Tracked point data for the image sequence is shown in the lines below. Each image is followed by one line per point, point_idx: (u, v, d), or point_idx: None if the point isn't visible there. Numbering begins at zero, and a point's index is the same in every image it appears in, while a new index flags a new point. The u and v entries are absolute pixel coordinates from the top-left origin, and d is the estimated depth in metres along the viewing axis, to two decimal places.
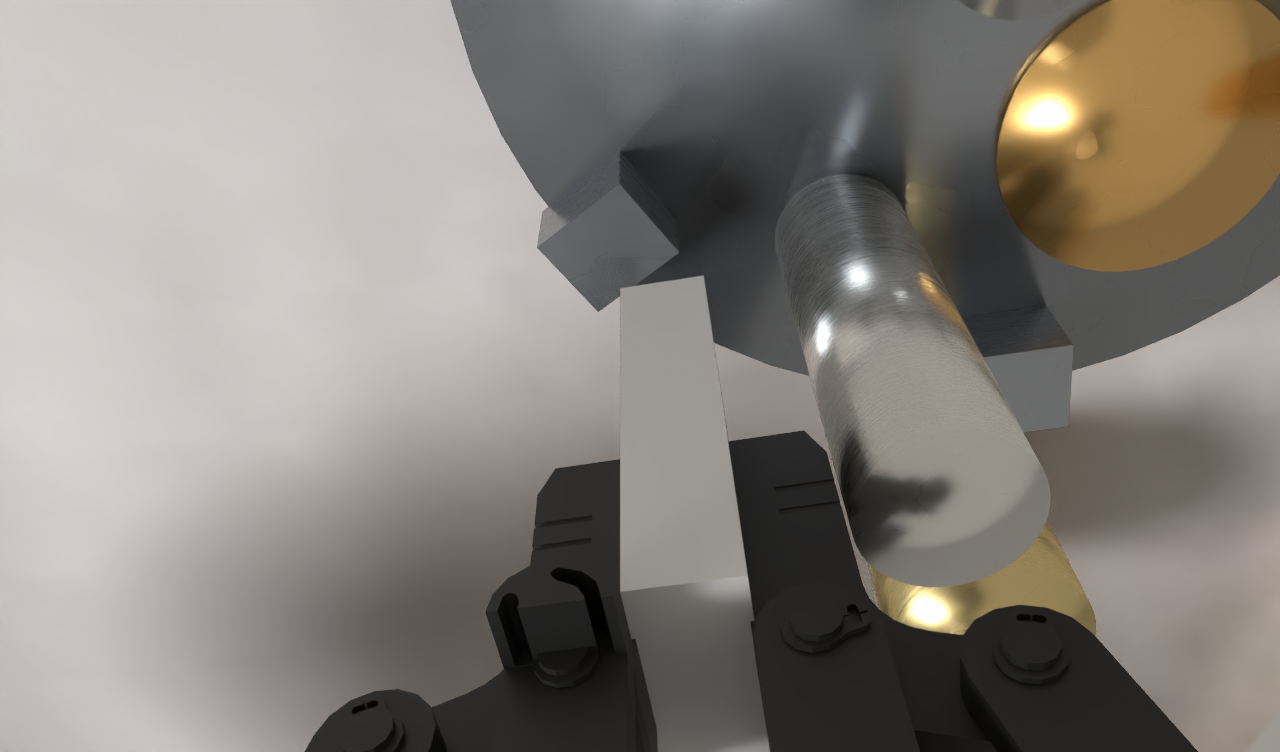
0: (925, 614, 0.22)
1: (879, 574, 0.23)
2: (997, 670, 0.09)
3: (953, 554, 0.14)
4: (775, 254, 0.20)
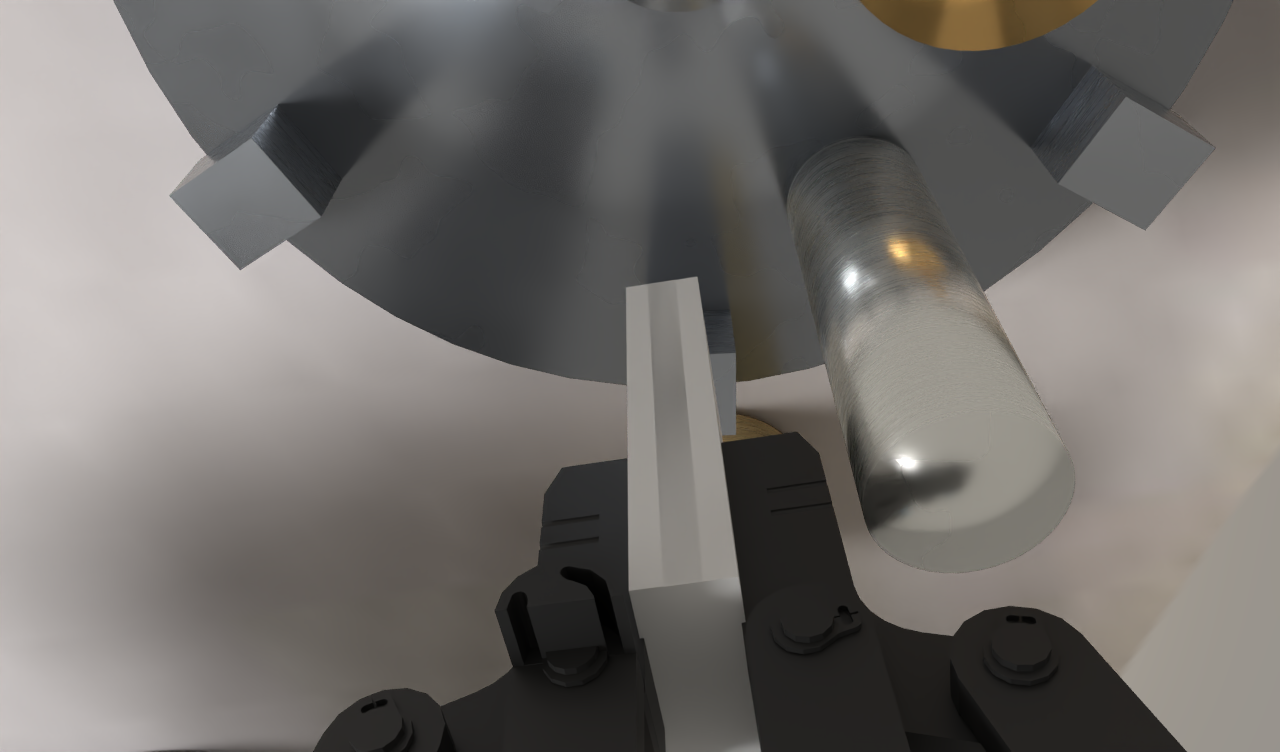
0: None
1: None
2: (987, 672, 0.09)
3: (1016, 515, 0.13)
4: None
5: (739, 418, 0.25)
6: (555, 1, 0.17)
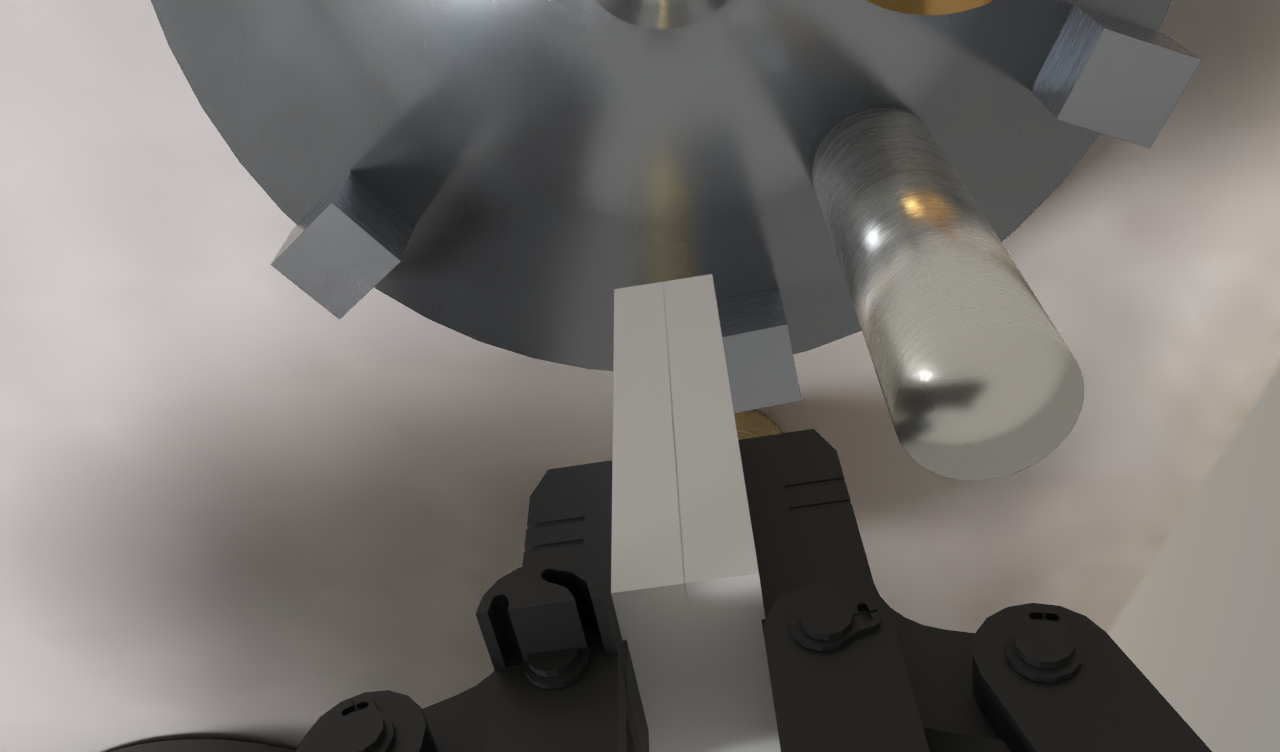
0: None
1: None
2: (1010, 668, 0.09)
3: (1036, 417, 0.14)
4: None
5: None
6: (573, 37, 0.19)
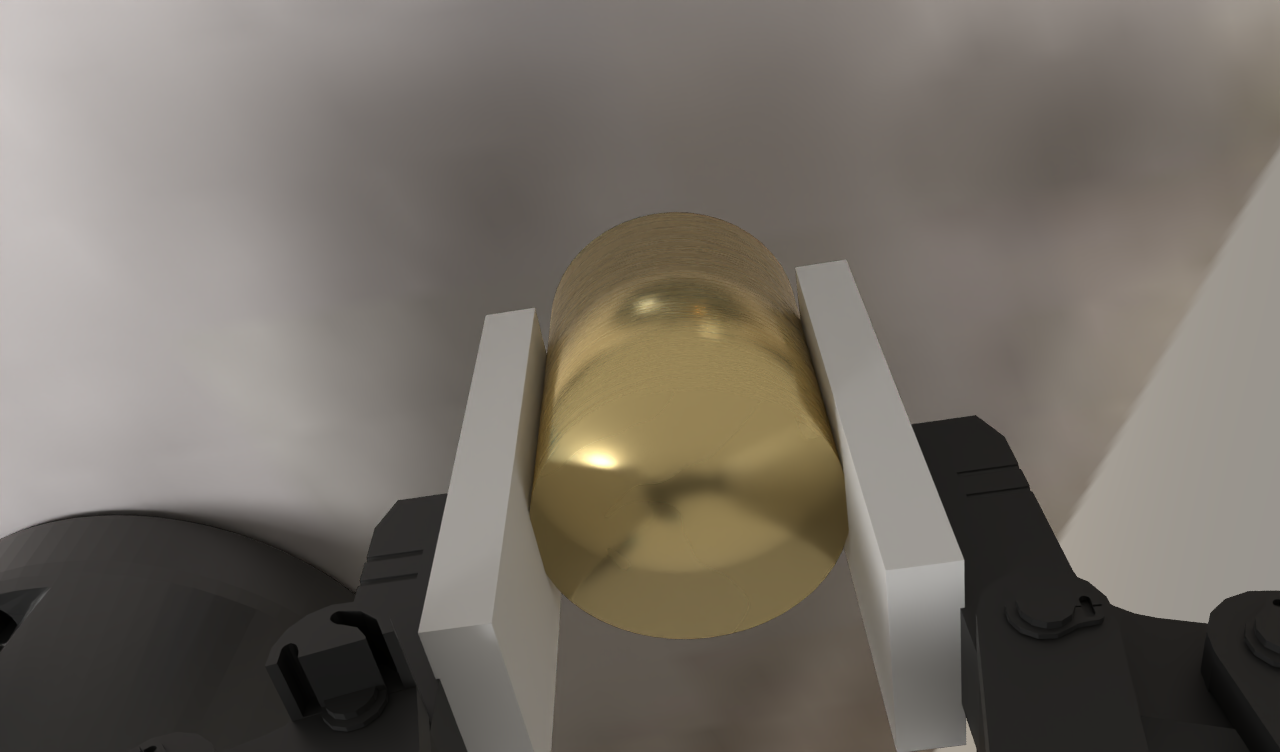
0: (567, 474, 0.13)
1: None
2: (1247, 651, 0.09)
3: None
4: None
5: (698, 218, 0.17)
6: None
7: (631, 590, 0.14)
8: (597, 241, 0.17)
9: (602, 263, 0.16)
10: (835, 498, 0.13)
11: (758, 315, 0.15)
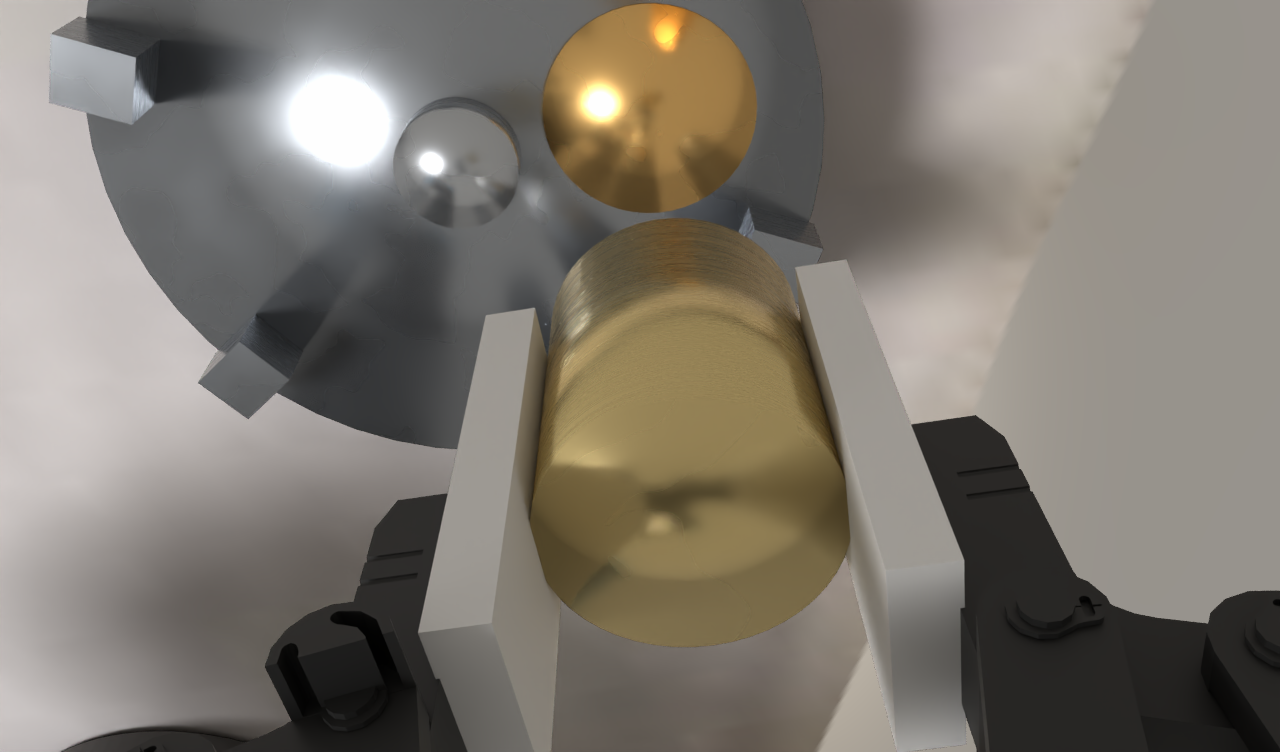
0: (567, 483, 0.13)
1: (539, 436, 0.15)
2: (1247, 651, 0.09)
3: None
4: None
5: (699, 224, 0.17)
6: (406, 227, 0.28)
7: (632, 597, 0.14)
8: (597, 247, 0.17)
9: (603, 269, 0.16)
10: (837, 506, 0.13)
11: (759, 322, 0.15)
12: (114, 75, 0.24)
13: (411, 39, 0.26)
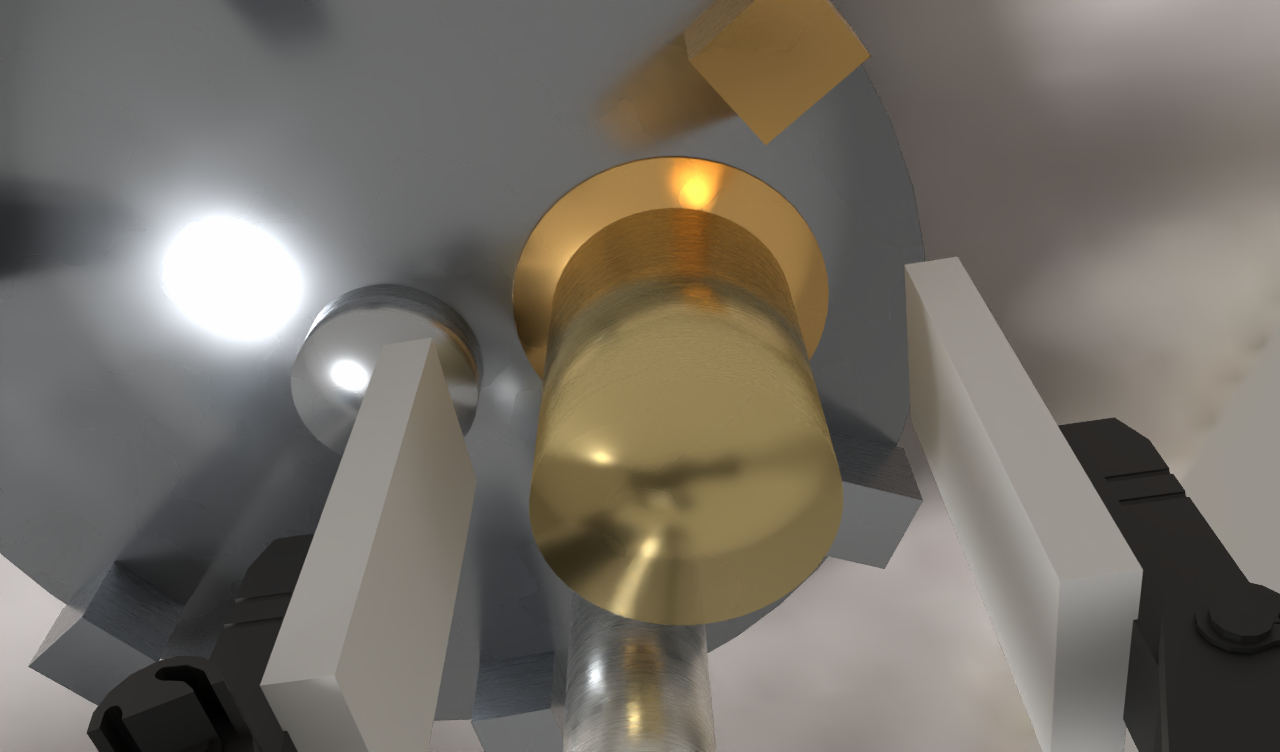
0: (565, 463, 0.13)
1: (538, 419, 0.15)
2: None
3: None
4: None
5: (696, 213, 0.17)
6: (321, 454, 0.20)
7: (629, 576, 0.14)
8: (596, 236, 0.17)
9: (601, 257, 0.16)
10: (828, 486, 0.14)
11: (753, 308, 0.15)
12: None
13: (314, 206, 0.17)
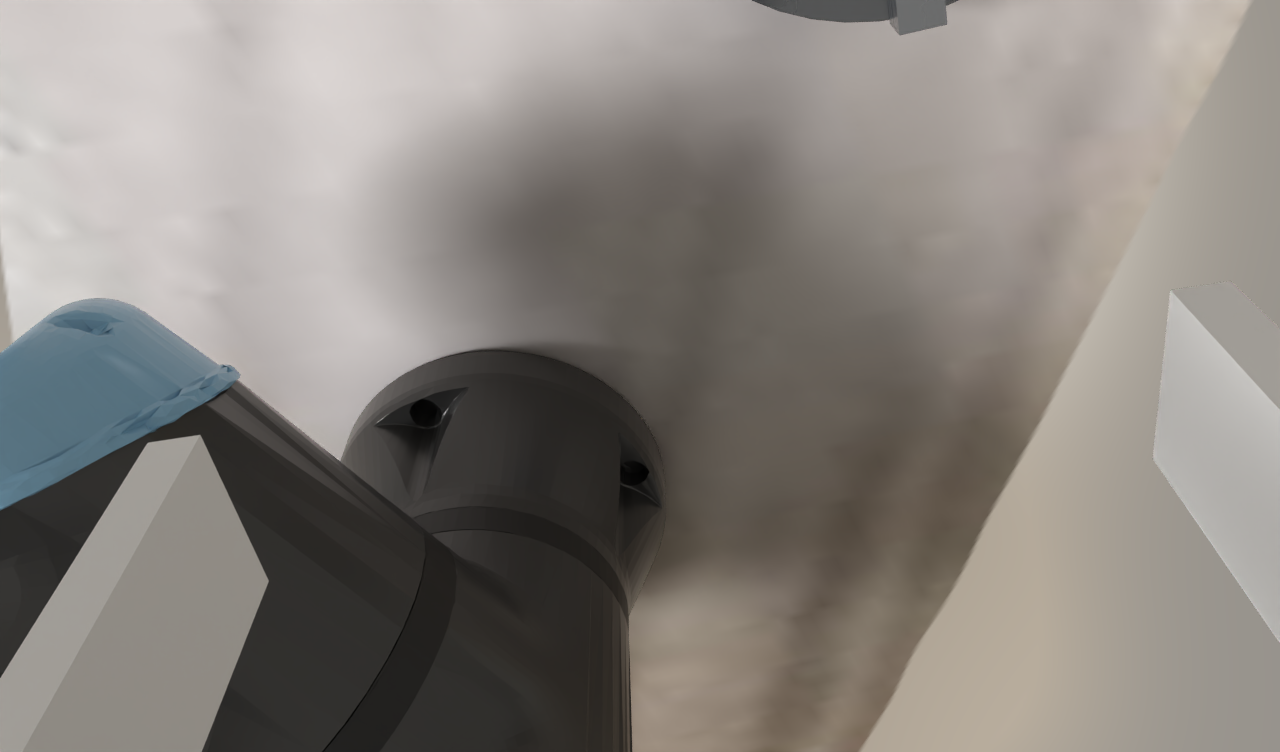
0: None
1: None
2: None
3: None
4: None
5: None
6: None
7: None
8: None
9: None
10: None
11: None
12: None
13: None
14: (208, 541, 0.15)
